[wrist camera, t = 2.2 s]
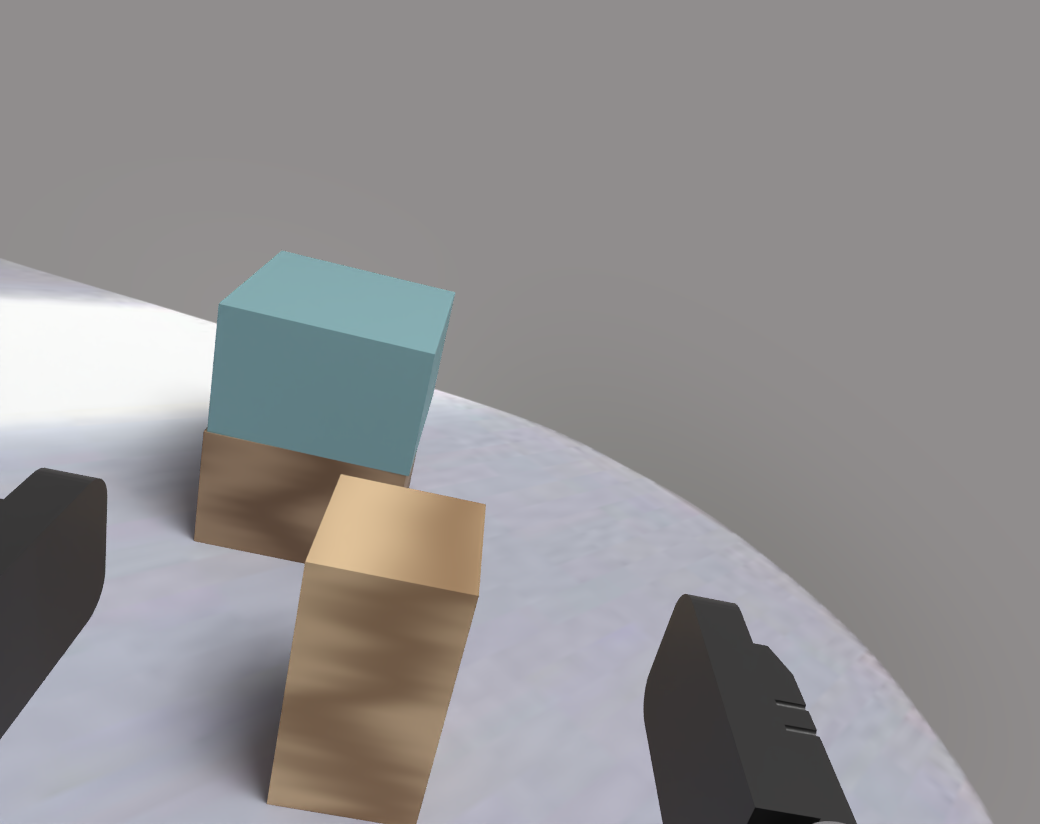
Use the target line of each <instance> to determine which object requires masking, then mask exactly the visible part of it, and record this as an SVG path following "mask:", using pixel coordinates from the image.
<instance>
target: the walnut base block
mask: <svg viewBox="0 0 1040 824" xmlns="http://www.w3.org/2000/svg"><path fill="white" fill-rule="evenodd" d="M207 428H208V427H207ZM207 428H206V429H205V431H204V433H203V445H202V456H201V467H200V478H199V490H198V501H197V512H196V524H195V535H194V541H196V542H201V543H206V544H211V545H216V546H221V547H226V548H231V549H236V550H241V551H246V552H250V553H255V554H260V555H265V556H270V557H275V558H280V559H285V560H290V561H295V562H300V563H305V561H306V559H307V556H308V554H309V551H310V549H311V546H312V544H313V541H314V539H315V537H316V534H317V532H318V529H319V527H320V524H321V522H322V519H323V517H324V514H325V512H326V510H327V507H328V505H329V502H330V500H331V497H332V495H333V492H334V490H335V487H336V485H337V483H338V480H339V478H340V475H341V474H343V475H347V476H352V477H357V478H362V479H366V480H371V481H376V482H381V483H386V484H390V485H395V486H400V487H405V488H409V485H410V480H411V475H412V471H413V466H414V461H415V458H414V461H413V465H412V468H411V471H410V475H409V476H405V475H401V474H396V473H392V472H387V471H383V470H378V469H374V468H369V467H365V466H360V465H356V464H351V463H346V462H342V461H337V460H333V459H328V458H324V457H319V456H315V455H310V454H306V453H301V452H297V451H292V450H288V449H283V448H279V447H274V446H270V445H265V444H261V443H256V442H252V441H247V440H243V439H238V438H234V437H229V436H225V435H220V434H215V433H211V432H207ZM416 452H417V451H416ZM415 457H416V454H415Z"/></svg>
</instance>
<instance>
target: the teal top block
mask: <svg viewBox="0 0 1040 824" xmlns="http://www.w3.org/2000/svg"><path fill="white" fill-rule="evenodd" d="M454 295H455V292H451V291H447V290H443V289H439V288H435V287H431V286H427V285H422V284H418V283H414V282H410V281H406V280H402V279H398V278H393V277H389V276H385V275H381V274H377V273H373V272H368V271H364V270H360V269H356V268H352V267H348V266H344V265H339V264H335V263H331V262H327V261H323V260H319V259H315V258H310V257H306V256H302V255H298V254H294V253H290V252H285V251H281V252H280V253H278V254H277V255H276V256H275V257H274V258H273V259H271V260H270V261H269V262H268V263H267V264H265V265H264V266H263V267H262V268H261V269H259V270H258V271H257V272H256V273H255V274H253V276H251V277H250V278H249V279H248V280H247V281H245V282H244V283H243V284H242V285H241V286H239V287H238V288H237V289H236V290H234V291H233V292H232V293H231V294H230V295H229V296H228V297H226V298H225V299H224V300H223V301H221V302H220V303H219V308H218V319H217V329H216V340H215V351H214V362H213V373H212V384H211V395H210V406H209V417H208V428H207V432H211V433H215V434H220V435H225V436H229V437H234V438H238V439H243V440H247V441H252V442H256V443H261V444H265V445H270V446H274V447H279V448H283V449H288V450H292V451H297V452H301V453H306V454H310V455H315V456H319V457H324V458H328V459H333V460H337V461H342V462H346V463H351V464H356V465H360V466H365V467H369V468H374V469H378V470H383V471H387V472H392V473H396V474H401V475H405V476H409V475H410V471H411V468H412V465H413V461H414V458H415V454H416V451H417V448H418V444H419V441H420V437H421V434H422V431H423V427H424V424H425V420H426V417H427V414H428V410H429V407H430V403H431V400H432V397H433V392H434V388H435V383H436V379H437V374H438V369H439V365H440V360H441V355H442V351H443V346H444V341H445V337H446V332H447V327H448V323H449V318H450V313H451V309H452V305H453V300H454Z"/></svg>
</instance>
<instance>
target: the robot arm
mask: <svg viewBox="0 0 1040 824" xmlns="http://www.w3.org/2000/svg"><path fill="white" fill-rule="evenodd" d="M106 523H107V488H106V484H105V482H104V481H103V480H102V479H99V478H94V477H89V476H83V475H78V474H73V473H68V472H63V471H58V470H53V469H47V468H40V469H38V470H36V471H35V472H34V473H33V474H32V475H30V476H29V477H28V478H27V479H26V480H25V481H24V482H23V483H21V484H20V485H19V486H18V487H17V488H16V489H15V490H14V491H12V492H11V493H10V494H9V495H8V496H7V497H6V498H5V499H0V739H1V738H2V736H3V735H4V734H5V732H6V731H7V730H8V728H9V727H10V726H11V724H12V723H13V721H14V720H15V719H16V717H17V716H18V715H19V713H20V712H21V711H22V709H23V708H24V707H25V705H26V704H27V703H28V701H29V700H30V699H31V697H32V696H33V695H34V693H35V692H36V691H37V689H38V688H39V687H40V685H41V684H42V682H43V681H44V680H45V678H46V677H47V676H48V674H49V673H50V672H51V670H52V669H53V668H54V666H55V665H56V664H57V662H58V661H59V660H60V658H61V657H62V656H63V654H64V653H65V652H66V650H67V649H68V648H69V646H70V645H71V643H72V642H73V641H74V639H75V638H76V637H77V635H78V634H79V633H80V631H81V630H82V629H83V627H84V626H85V625H86V623H87V622H88V620H89V619H90V617H91V616H92V614H93V612H94V610H95V608H96V606H97V603H98V601H99V598H100V595H101V592H102V588H103V584H104V578H105V560H106ZM805 706H806V704H805V702H804V699H803V697H802V695H801V692H800V690H799V688H798V685H797V683H796V681H795V679H794V676H793V674H792V673H791V672H790V671H789V670H788V669H787V667H786V666H785V665H784V664H783V663H782V662H781V661H780V659H779V658H778V657H777V656H776V655H775V654H774V653H773V652H772V650H771V649H770V648H769V647H768V646H765V645H759V644H754V643H753V642H752V639H751V637H750V634H749V631H748V629H747V626H746V624H745V621H744V618H743V616H742V613H741V611H740V609H739V607H738V606H737V605H736V604H735V603H729V602H724V601H719V600H714V599H709V598H704V597H698V596H693V595H688V594H684V595H682V596H681V597H680V598H679V600H678V601H677V603H676V605H675V608H674V610H673V613H672V615H671V618H670V621H669V623H668V626H667V629H666V631H665V634H664V636H663V639H662V642H661V644H660V647H659V649H658V652H657V655H656V657H655V660H654V662H653V665H652V668H651V670H650V673H649V676H648V679H647V683H646V688H645V695H644V722H645V728H646V733H647V739H648V744H649V750H650V755H651V761H652V766H653V772H654V777H655V783H656V788H657V794H658V799H659V805H660V810H661V816H662V821H663V824H857V823H856V821H855V818H854V816H853V814H852V811H851V809H850V807H849V804H848V802H847V800H846V797H845V795H844V793H843V790H842V788H841V786H840V783H839V781H838V779H837V776H836V774H835V772H834V769H833V767H832V765H831V762H830V760H829V758H828V755H827V753H826V751H825V748H824V746H823V744H822V741H821V739H820V737H818V736H816V731H817V730H816V727H815V725H814V723H813V720H812V718H811V716H810V713H809V711H806V710H805Z"/></svg>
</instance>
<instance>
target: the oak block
mask: <svg viewBox="0 0 1040 824" xmlns="http://www.w3.org/2000/svg"><path fill="white" fill-rule="evenodd" d="M485 507H486V504H481V503H477V502H472V501H467V500H462V499H457V498H453V497H448V496H443V495H438V494H433V493H429V492H424V491H419V490H414V489H410V488H405V487H400V486H395V485H390V484H386V483H381V482H376V481H371V480H366V479H362V478H357V477H352V476H347V475H343V474H341V475H340V478H339V480H338V483H337V485H336V487H335V490H334V492H333V495H332V497H331V500H330V502H329V505H328V507H327V510H326V512H325V514H324V517H323V519H322V522H321V524H320V527H319V529H318V532H317V534H316V537H315V539H314V541H313V544H312V546H311V549H310V551H309V554H308V556H307V559H306V561H305V567H304V573H303V579H302V585H301V592H300V598H299V604H298V611H297V617H296V623H295V629H294V636H293V642H292V648H291V655H290V661H289V667H288V673H287V680H286V686H285V692H284V699H283V705H282V711H281V717H280V724H279V730H278V736H277V743H276V749H275V755H274V761H273V768H272V774H271V780H270V787H269V793H268V799H267V804H270V805H276V806H282V807H288V808H294V809H300V810H306V811H312V812H318V813H324V814H330V815H336V816H342V817H348V818H354V819H360V820H366V821H372V822H377V823H383V824H416V823H417V820H418V816H419V812H420V809H421V805H422V801H423V798H424V794H425V790H426V787H427V783H428V779H429V776H430V772H431V768H432V765H433V761H434V757H435V754H436V750H437V746H438V743H439V739H440V736H441V732H442V728H443V725H444V721H445V717H446V714H447V710H448V706H449V703H450V699H451V695H452V692H453V688H454V684H455V681H456V677H457V673H458V670H459V666H460V662H461V659H462V655H463V652H464V648H465V644H466V641H467V637H468V633H469V630H470V626H471V622H472V619H473V615H474V611H475V608H476V604H477V600H478V597H479V586H480V573H481V560H482V546H483V533H484V520H485Z"/></svg>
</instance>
